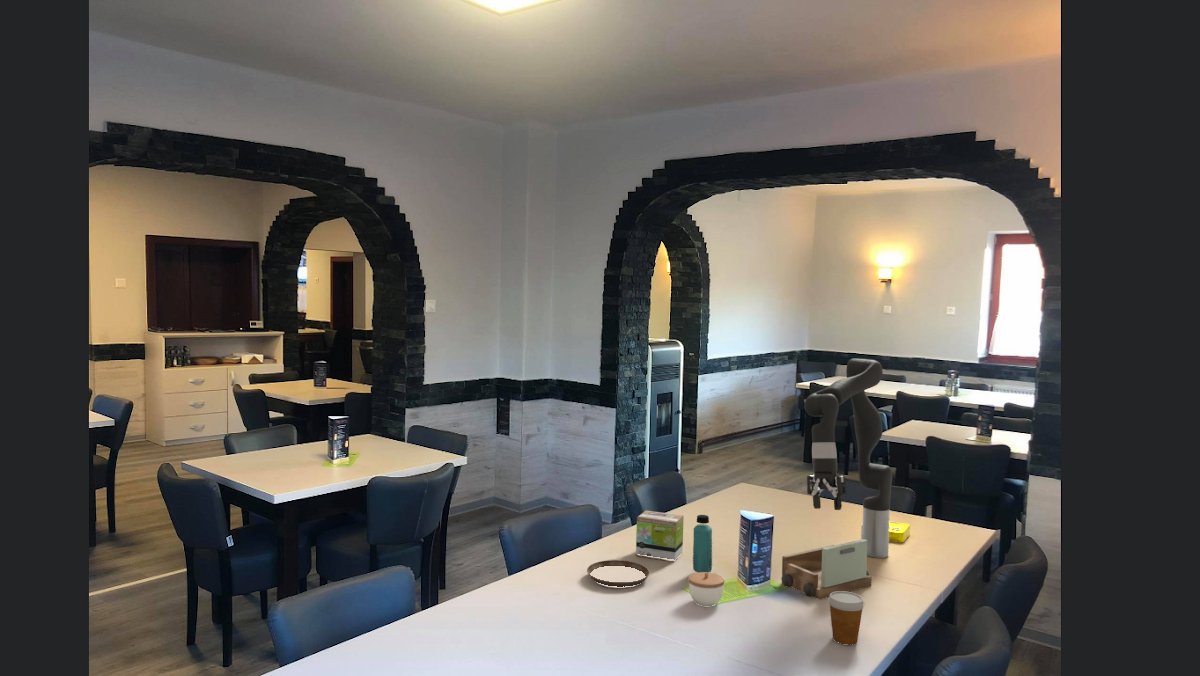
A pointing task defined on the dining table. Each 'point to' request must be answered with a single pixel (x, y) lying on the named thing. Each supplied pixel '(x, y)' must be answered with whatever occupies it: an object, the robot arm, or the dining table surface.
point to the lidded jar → (706, 588)
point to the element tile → (898, 531)
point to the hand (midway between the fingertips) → (827, 509)
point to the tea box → (659, 534)
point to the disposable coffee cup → (845, 616)
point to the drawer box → (813, 575)
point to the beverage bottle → (702, 545)
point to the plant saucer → (618, 563)
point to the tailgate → (844, 563)
